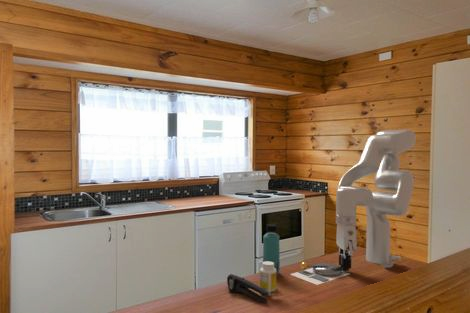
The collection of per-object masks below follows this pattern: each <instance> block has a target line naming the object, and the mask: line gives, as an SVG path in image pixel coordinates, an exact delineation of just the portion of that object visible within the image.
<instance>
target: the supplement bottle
mask: <svg viewBox="0 0 470 313" xmlns="http://www.w3.org/2000/svg"><path fill="white" fill-rule="evenodd" d="M259 287H261V288H262V289H264V290H265V291H267V292H268V293H269V295H268V296H269V297H271V296H274V295H276V291H277V275H276V269H275V268H274V263H273V262H270V261H265V262H263V261H262V265H261V267H260V269H259Z"/></svg>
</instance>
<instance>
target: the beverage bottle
mask: <svg viewBox="0 0 470 313" xmlns="http://www.w3.org/2000/svg"><path fill="white" fill-rule="evenodd" d="M265 227H266V229H265V231H267V232H266V233H265V234H264V235H263V241H262V242H263V245H262V263H263V262H265V261H270V262H273V263H274V268H275V269H276V276H279V274H280V268H281V267H280V260H281V258H280V235H279V234H278V233H276V232H277V231H278V226H277V224H270V223H269V224H266V226H265Z"/></svg>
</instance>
